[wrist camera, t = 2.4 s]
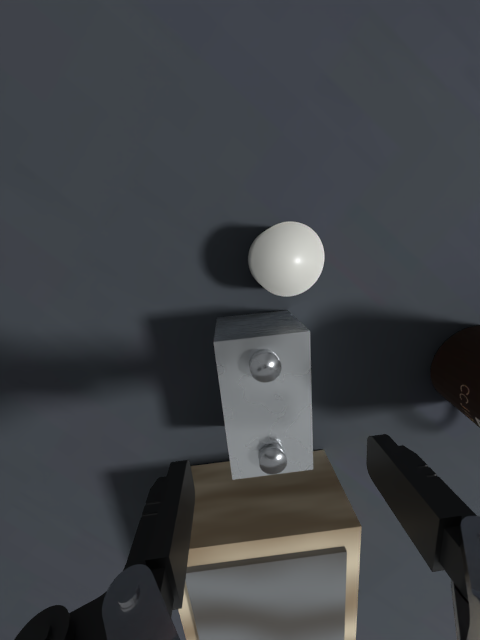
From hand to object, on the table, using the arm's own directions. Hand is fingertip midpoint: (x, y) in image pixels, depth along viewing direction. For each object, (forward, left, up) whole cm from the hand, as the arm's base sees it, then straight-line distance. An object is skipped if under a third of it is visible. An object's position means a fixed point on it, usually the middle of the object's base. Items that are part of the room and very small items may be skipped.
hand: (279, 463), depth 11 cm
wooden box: (+15, -1, -8) cm, 17 cm away
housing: (0, 0, -8) cm, 8 cm away
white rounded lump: (-8, +2, -8) cm, 12 cm away
